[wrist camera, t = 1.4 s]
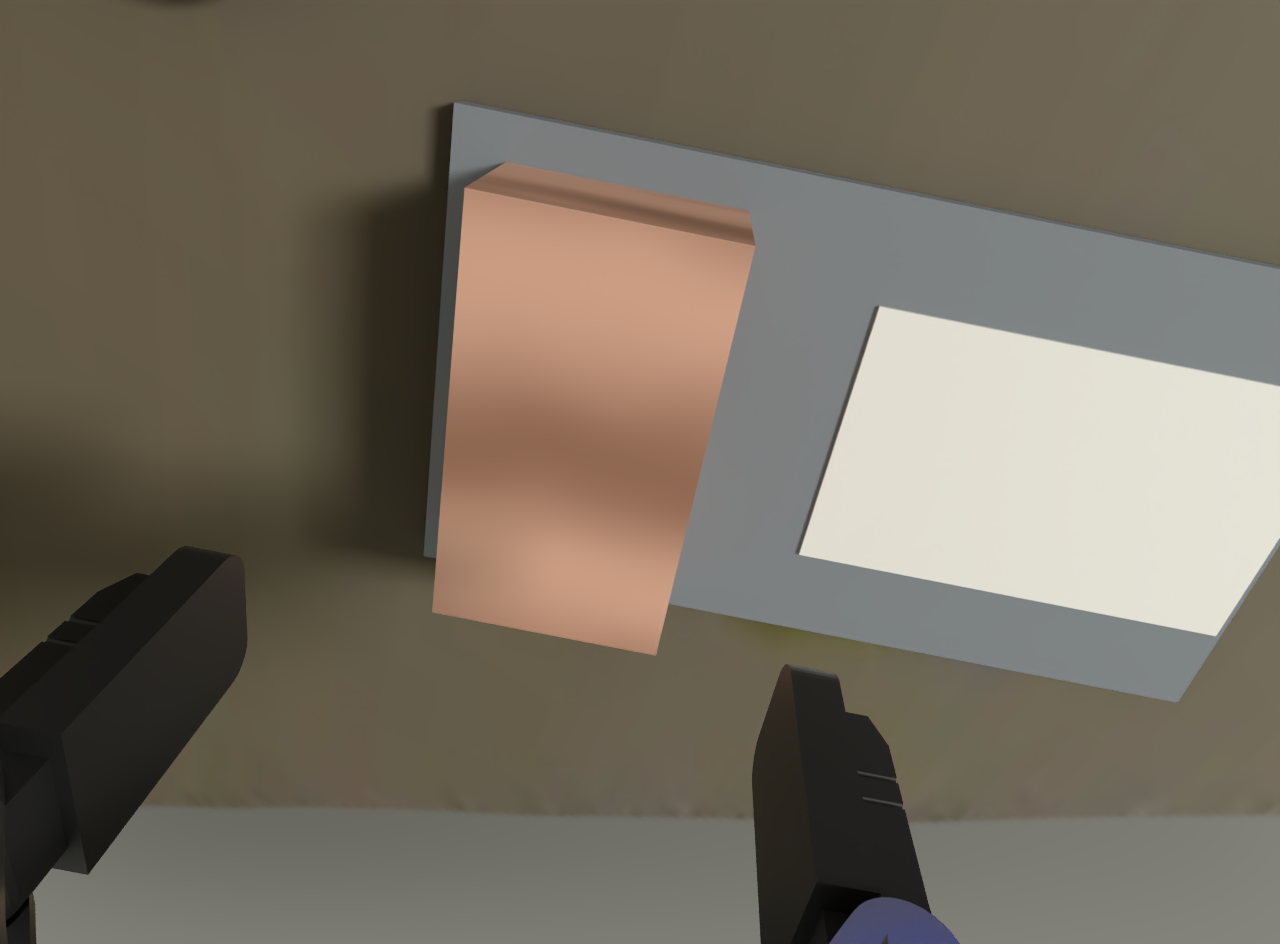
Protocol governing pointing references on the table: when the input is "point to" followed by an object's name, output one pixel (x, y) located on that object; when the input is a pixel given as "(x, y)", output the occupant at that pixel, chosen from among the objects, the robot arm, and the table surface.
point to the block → (581, 399)
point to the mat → (953, 418)
